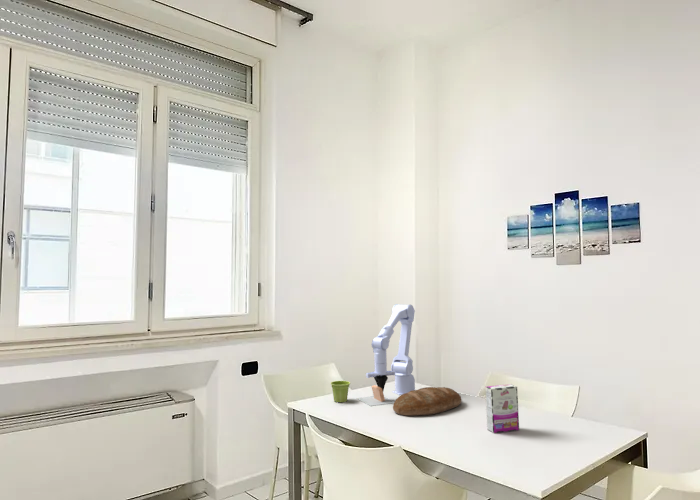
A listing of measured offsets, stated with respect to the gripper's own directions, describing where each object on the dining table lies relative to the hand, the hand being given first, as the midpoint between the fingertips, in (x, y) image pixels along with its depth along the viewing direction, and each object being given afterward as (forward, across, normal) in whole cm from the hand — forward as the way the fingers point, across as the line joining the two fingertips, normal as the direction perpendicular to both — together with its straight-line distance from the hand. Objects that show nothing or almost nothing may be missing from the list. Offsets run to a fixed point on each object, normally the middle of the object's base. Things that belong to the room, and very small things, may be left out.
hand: (381, 391), depth 240 cm
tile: (+3, +1, 0) cm, 3 cm away
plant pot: (+4, +18, -7) cm, 20 cm away
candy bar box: (+4, -21, +61) cm, 65 cm away
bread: (+5, -13, +20) cm, 25 cm away
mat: (+4, +3, 0) cm, 5 cm away
